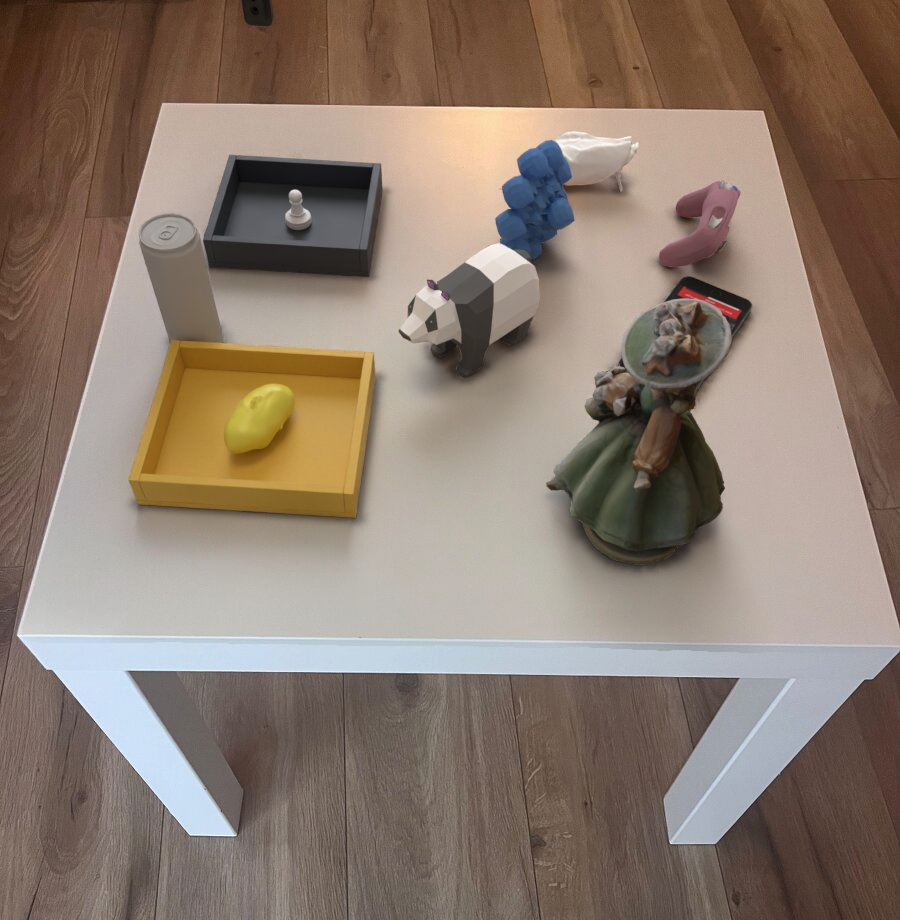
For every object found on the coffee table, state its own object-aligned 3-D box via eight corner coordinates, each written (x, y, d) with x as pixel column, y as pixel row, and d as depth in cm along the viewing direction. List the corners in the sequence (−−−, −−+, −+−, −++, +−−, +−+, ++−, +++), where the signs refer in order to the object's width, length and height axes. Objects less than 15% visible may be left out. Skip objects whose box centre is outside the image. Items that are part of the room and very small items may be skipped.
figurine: (549, 423, 79) (583, 222, 62) (711, 439, 79) (791, 241, 62) (539, 561, 72) (574, 375, 55) (719, 580, 71) (812, 398, 54)
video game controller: (688, 289, 91) (738, 242, 85) (652, 262, 90) (700, 213, 84) (706, 229, 96) (754, 182, 90) (672, 203, 95) (719, 154, 89)
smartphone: (755, 302, 87) (689, 399, 80) (752, 308, 87) (687, 404, 81) (685, 273, 89) (615, 365, 82) (683, 279, 89) (613, 371, 82)
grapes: (536, 307, 87) (551, 194, 77) (476, 280, 89) (483, 166, 78) (593, 242, 92) (614, 127, 82) (535, 218, 94) (549, 103, 84)
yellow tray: (138, 504, 74) (127, 480, 71) (179, 366, 82) (171, 339, 79) (355, 518, 73) (353, 494, 71) (375, 377, 82) (373, 351, 79)
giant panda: (499, 301, 87) (507, 213, 79) (541, 332, 85) (553, 244, 77) (383, 375, 82) (379, 288, 74) (425, 409, 80) (425, 324, 71)
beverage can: (162, 357, 82) (125, 243, 72) (186, 322, 85) (153, 207, 74) (211, 369, 82) (181, 256, 71) (234, 333, 84) (207, 219, 74)
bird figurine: (607, 173, 100) (522, 156, 97) (636, 122, 94) (546, 102, 91) (613, 208, 99) (526, 192, 96) (643, 159, 92) (551, 140, 90)
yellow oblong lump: (311, 415, 78) (306, 382, 75) (249, 474, 75) (240, 442, 71) (273, 394, 79) (267, 361, 76) (210, 451, 76) (201, 419, 72)
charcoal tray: (209, 267, 89) (202, 240, 86) (234, 181, 96) (229, 154, 93) (368, 276, 89) (367, 249, 86) (382, 190, 96) (381, 163, 93)
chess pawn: (312, 214, 92) (308, 183, 89) (311, 230, 91) (307, 199, 88) (286, 214, 92) (282, 183, 89) (285, 230, 91) (280, 199, 88)
